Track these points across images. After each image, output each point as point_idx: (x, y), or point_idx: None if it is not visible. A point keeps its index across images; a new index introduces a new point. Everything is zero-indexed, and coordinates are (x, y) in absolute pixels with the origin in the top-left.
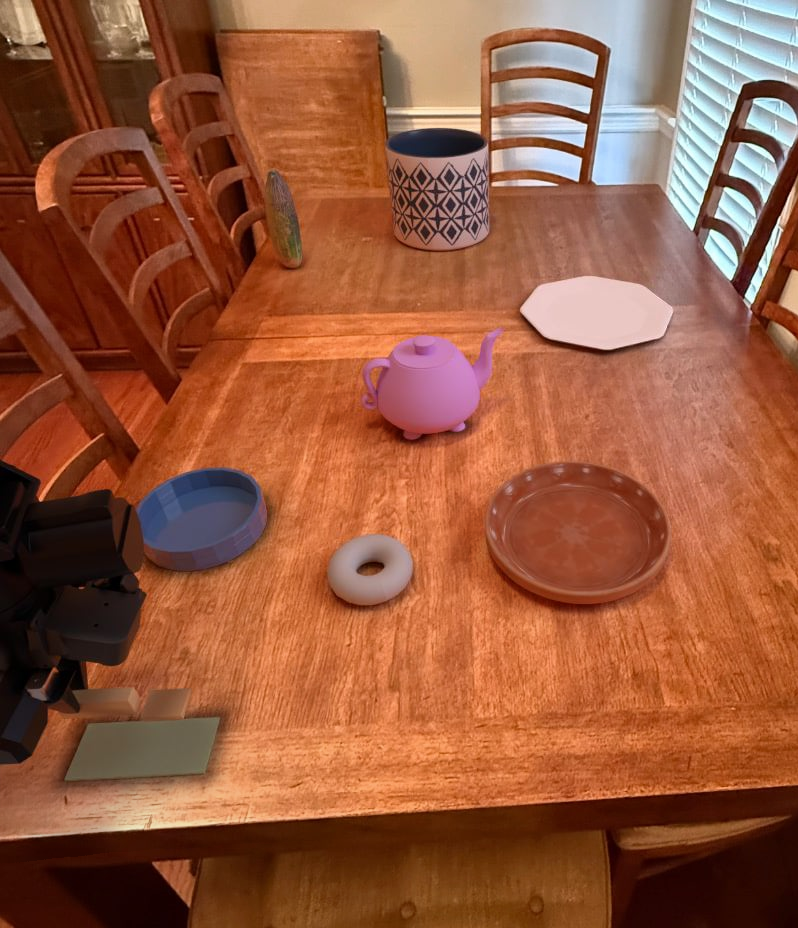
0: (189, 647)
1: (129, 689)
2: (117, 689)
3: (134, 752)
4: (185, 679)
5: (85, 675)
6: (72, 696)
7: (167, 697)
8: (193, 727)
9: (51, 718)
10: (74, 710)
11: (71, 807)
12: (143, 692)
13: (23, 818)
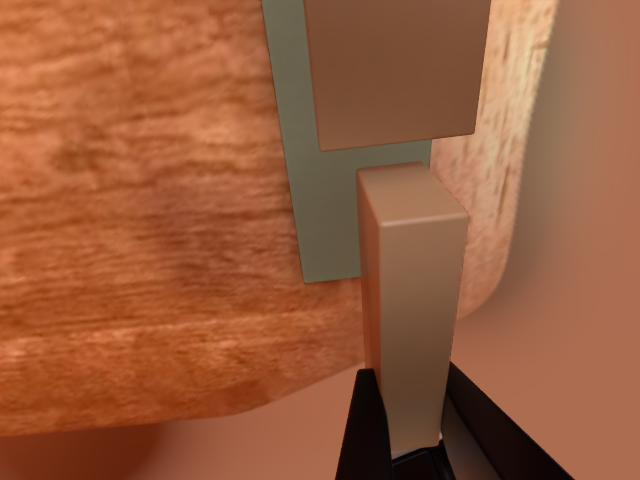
0: (50, 155)
1: (398, 238)
2: (393, 291)
3: (370, 163)
4: (149, 123)
5: (363, 452)
6: (516, 469)
7: (368, 27)
8: (297, 24)
9: (295, 340)
10: (476, 387)
11: (474, 232)
12: (212, 212)
13: (478, 294)
